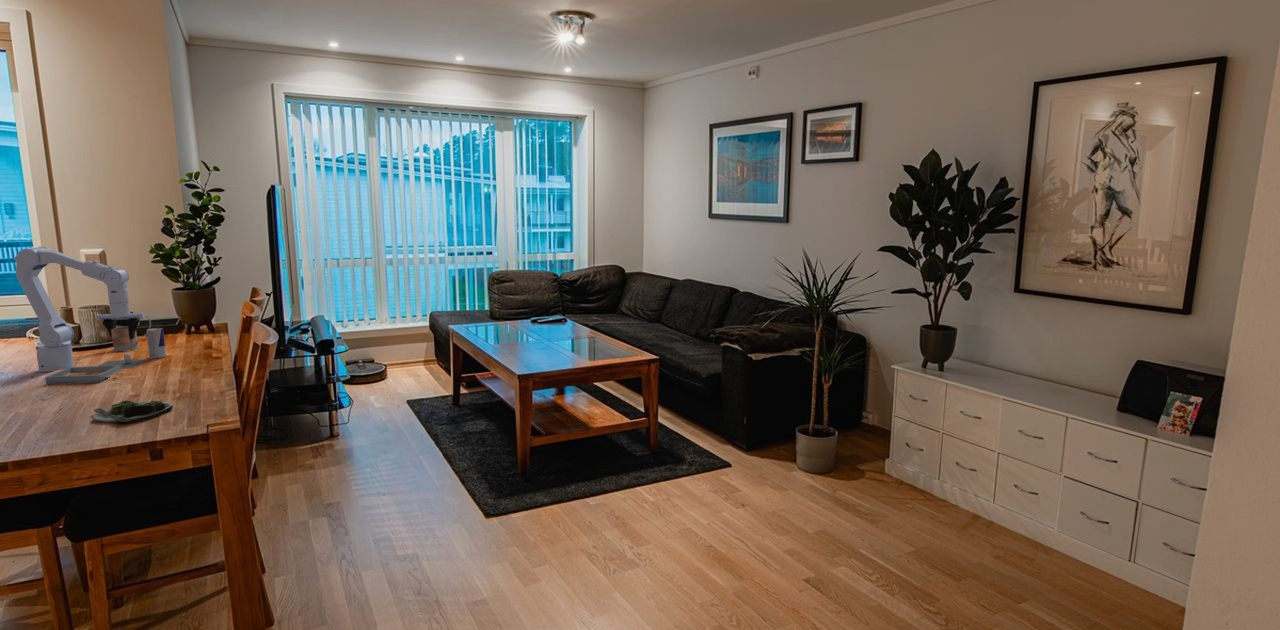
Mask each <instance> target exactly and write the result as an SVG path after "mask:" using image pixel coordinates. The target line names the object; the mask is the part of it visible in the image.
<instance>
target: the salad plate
mask: <svg viewBox="0 0 1280 630" xmlns="http://www.w3.org/2000/svg"><path fill="white" fill-rule="evenodd" d="M173 408H174V405H173V403H172V402H169V401H167V402H166V401H161V400H160V401H159V400H151V401H132V400H122V401H120V402H116V403H112V402H111V403H110V407H108V408H107V409H106V410H105V409H103V408H101V407H98V408H95V409H93V412H95V413H96V414H94V415H93V418H94V421H98V422H101V421H102V423H112V422H116V423H115V424H131V423H130V422H134V423H139V422H138V421H140V422H144V421H143V420H145V421H148V420H147V419H149V420H151V418H152V419H155V418H157V417H159V415H160V416H162V415H165V414H167V413H169V412H170V411H171V410H172V409H173ZM164 413H165V414H164ZM154 417H155V418H154Z"/></svg>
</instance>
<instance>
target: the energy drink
mask: <svg viewBox="0 0 1280 630" xmlns="http://www.w3.org/2000/svg"><path fill="white" fill-rule="evenodd" d="M145 334H147V335H146V340H147V348H148V350H147V351H148V357H149V358H148V359H151V360H159V359H164V358H166V357H167V352H166V343H165V334H164V329H163V327H152V328H150V329H149V328H147V329H146V333H145Z"/></svg>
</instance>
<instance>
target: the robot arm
mask: <svg viewBox="0 0 1280 630" xmlns="http://www.w3.org/2000/svg"><path fill="white" fill-rule="evenodd" d="M14 260H15V261H14V262H15V263H16V266H15V275H16V278H17V281H18V282H19V284H20V286H21V288H22V290H23V292H24V294H25V296H26V298H27V300H28V301H29V304H30V306H31V308H32V310H33V311H34V313H35V315H36V318H37V319H38V321H39V325H38V327H37V330H38V334H39V341H40V342H41V344H42V345H40V346H39V347H38V348H37V350H36V359H37V360H36V361H37V366H38V367H37V368H38V370H37V373H42V372H43V373H46V372H55V371H57V370H59V369H62V370H63V369H66V368H69V367H75V361H74V356H73V347H72V340H73V338H74V337H75V332H74V329H73V328H72V327H71V326H70V325H68V324H67V322H66V320H65V319H63V318H62V317H60V316H59V315H58V313H57V311H56V309H55V307H54V305H53V302H52V301H51V299H50V296H49V295H48V293H47V291H46V288H45V287H44V286H43V285H44V284H43V283H42V281H41V279H40V277H39V275H40V273H41V272H42V270H43V269H44V268H45V267H46V266H48V265H49V264H56V265H57V264H58V265H62V266H63V267H68V268H72V269H74V270H78V271H80V272H81V274H82V275H83V276H85V277H88V278H91V279H94V280H97V281H101V282H103V284H104V285H106V288H107V296H108V303H109V313H105V314H101V313H100V314H97V315H95V318H96V321H102V325H103V326H104V327H105V328H106V329H107V331H108V333H109V335H110V337H111V338H112V333H111V330H112V329H114V328H116V320H123V319H129V320H128V321H126V322H127V325H128V328H129V336H130V339H134V338H135V332H136V333H137V328H138V326H137V325H138V323H139V322H141V320H145V319H146V317H145V316H146V313H144V312H143V313H142V312H139V313H138V312H133V313H130V312H131V310H130V309H131V308H130V307H131V306H130V300H129V291H128V284H127V282H128V281H129V280H130V276H129V273H128V272H127V271H126V270H124V269H123V268H119V267H117V268H114V266H112V265H109V266H108V265H105V264H103V263H100V261H99V260H96V259H95V260H87V261H83V260H81V259H78V258H76V257H73V256H70V255H67V254H65V253H63V252H60V251H57V250H55V249H51V248H47V247H46V246H39V247H33V248H22V249H21V250H19V251H18V252H17V254H16V255H15V257H14ZM123 317H126V318H123Z"/></svg>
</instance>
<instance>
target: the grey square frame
mask: <svg viewBox="0 0 1280 630" xmlns="http://www.w3.org/2000/svg"><path fill="white" fill-rule="evenodd" d="M122 370H123V369H122V367H121V365H113V366H98V365H92V366H91V365H89V366H88V365H87V366H72V367H68V368H63V369H62V370H60V371H57V372H55V373H52V374H50V375H47V376H45V377H44V379H45V385H46V384H49V385H68V384H69V383H73V384H90V383H91V384H92V383H95V382H98V383H103V382H105V381H107V380H109V379H111V378H110V377H111V375H113V374H115V373H118V372H119V371H122ZM75 372H77V373H79V372H101V373H98V374H87V375H86V374H77V375H68V374H71V373H75ZM108 378H109V379H108ZM104 380H105V381H104ZM69 385H70V384H69Z"/></svg>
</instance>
